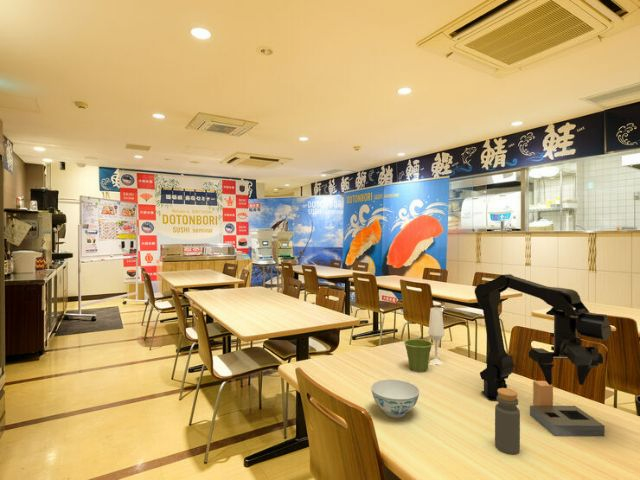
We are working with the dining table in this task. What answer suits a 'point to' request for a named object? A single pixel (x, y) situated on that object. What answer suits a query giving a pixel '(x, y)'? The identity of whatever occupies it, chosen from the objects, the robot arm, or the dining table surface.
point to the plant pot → (418, 353)
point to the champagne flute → (436, 330)
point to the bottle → (507, 422)
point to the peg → (542, 393)
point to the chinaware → (395, 396)
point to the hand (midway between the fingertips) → (565, 384)
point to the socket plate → (566, 421)
